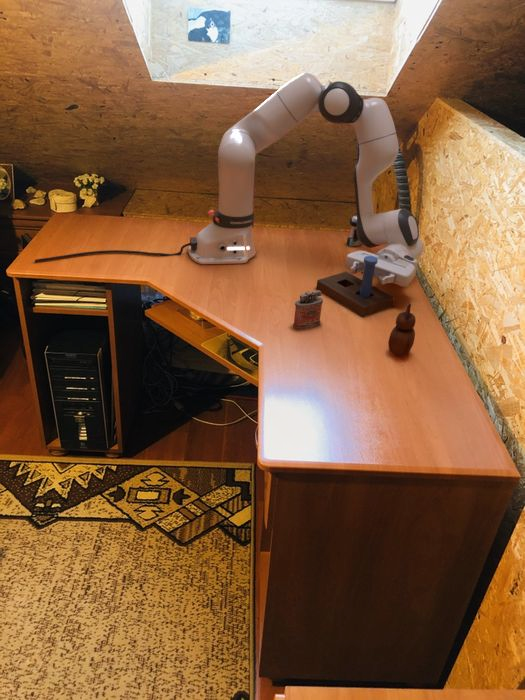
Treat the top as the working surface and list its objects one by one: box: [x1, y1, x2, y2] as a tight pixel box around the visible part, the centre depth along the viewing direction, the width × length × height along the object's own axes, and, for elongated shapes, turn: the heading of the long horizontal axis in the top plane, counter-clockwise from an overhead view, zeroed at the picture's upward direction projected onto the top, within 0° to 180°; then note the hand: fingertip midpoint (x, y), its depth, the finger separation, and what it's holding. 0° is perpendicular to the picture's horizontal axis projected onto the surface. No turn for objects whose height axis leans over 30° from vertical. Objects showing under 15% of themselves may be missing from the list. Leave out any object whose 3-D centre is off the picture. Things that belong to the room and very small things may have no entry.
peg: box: [359, 256, 378, 299], centre depth 164 cm, size 4×4×14 cm
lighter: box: [292, 290, 324, 331], centre depth 152 cm, size 8×3×10 cm, turn 117°
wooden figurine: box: [387, 302, 417, 358], centre depth 142 cm, size 7×6×15 cm
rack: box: [316, 271, 395, 318], centre depth 169 cm, size 12×20×3 cm, turn 36°
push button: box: [346, 215, 362, 248], centre depth 202 cm, size 7×5×10 cm
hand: (366, 276), depth 162 cm, fingers open, 8 cm apart
